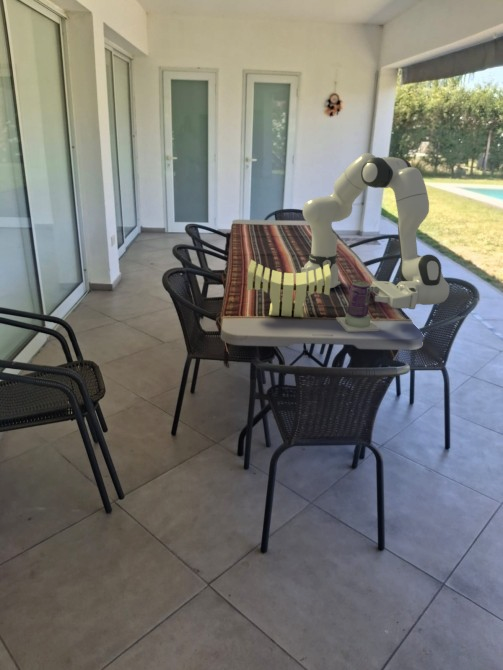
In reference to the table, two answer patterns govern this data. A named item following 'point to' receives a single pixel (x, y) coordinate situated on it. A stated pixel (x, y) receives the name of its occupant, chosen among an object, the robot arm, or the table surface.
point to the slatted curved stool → (288, 287)
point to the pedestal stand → (357, 323)
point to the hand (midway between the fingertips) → (369, 294)
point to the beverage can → (359, 299)
